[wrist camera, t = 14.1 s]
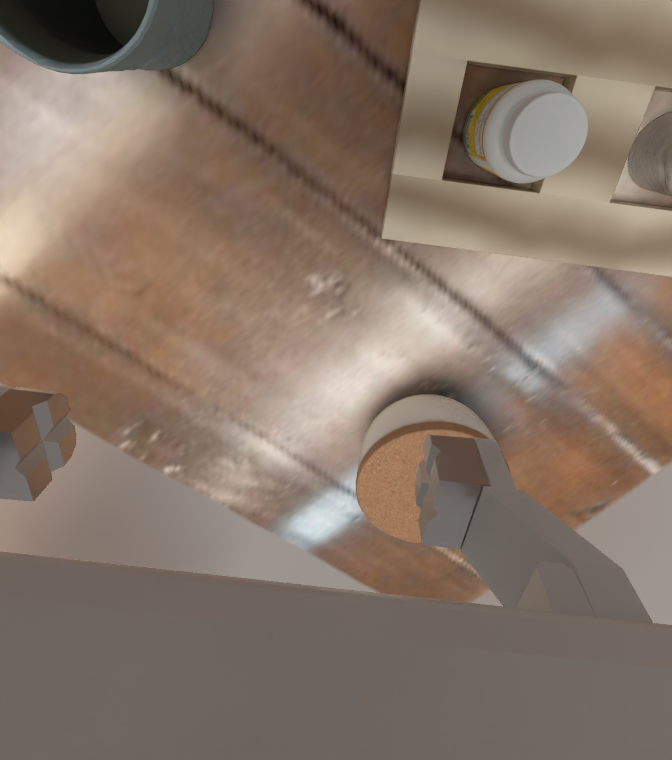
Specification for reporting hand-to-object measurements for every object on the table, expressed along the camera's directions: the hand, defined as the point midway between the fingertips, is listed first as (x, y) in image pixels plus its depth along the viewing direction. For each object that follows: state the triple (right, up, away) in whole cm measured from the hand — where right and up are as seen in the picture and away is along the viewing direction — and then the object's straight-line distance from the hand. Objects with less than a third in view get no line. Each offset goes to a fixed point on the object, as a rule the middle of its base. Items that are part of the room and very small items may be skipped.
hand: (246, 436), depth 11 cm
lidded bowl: (+10, -3, +35) cm, 37 cm away
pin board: (+19, +18, +22) cm, 34 cm away
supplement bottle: (+14, +19, +22) cm, 32 cm away
